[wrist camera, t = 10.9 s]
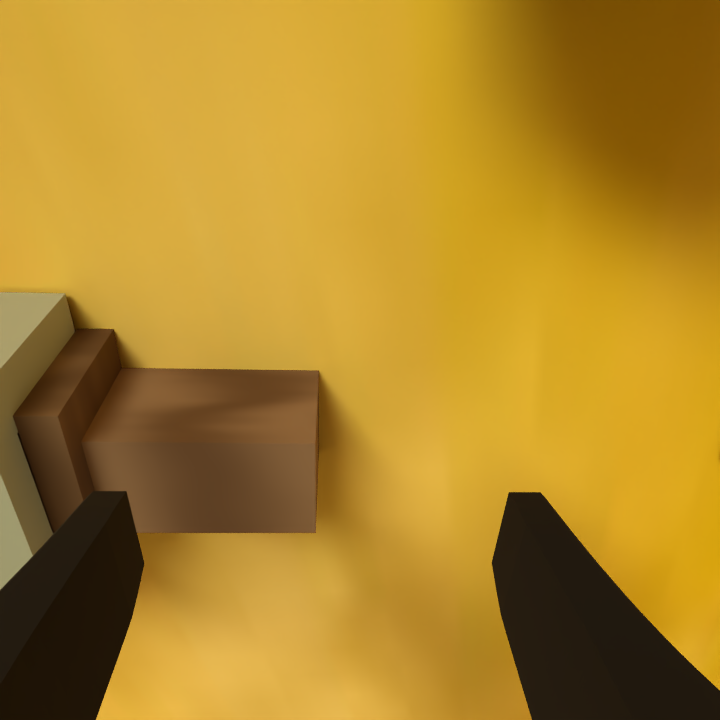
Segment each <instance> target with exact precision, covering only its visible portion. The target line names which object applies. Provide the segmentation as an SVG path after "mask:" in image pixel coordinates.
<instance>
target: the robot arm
mask: <svg viewBox="0 0 720 720" xmlns="http://www.w3.org/2000/svg"><path fill="white" fill-rule="evenodd" d="M492 566H493V572H494V578H495V584H496V590H497V596H498V601H499V606H500V612H501V616H502V620H503V623H504V627H505V630H506V634H507V637H508V641H509V644H510V647H511V651H512V654H513V658H514V661H515V664H516V668H517V671H518V674H519V678H520V681H521V684H522V688H523V691H524V694H525V698H526V701H527V704H528V708H529V711H530V714H531V718H532V720H720V690H718V689H717V688H716V687H715V686H714V685H713V684H712V683H711V682H710V681H709V680H708V679H707V678H706V677H705V676H704V675H702V674H701V673H700V672H699V671H698V670H697V669H696V668H695V667H694V666H693V665H692V664H691V663H690V662H689V661H688V660H687V659H686V658H685V657H684V656H683V655H682V654H681V653H680V652H679V651H678V650H677V649H676V648H675V647H674V646H673V645H672V644H671V643H670V642H669V641H668V640H667V639H666V638H665V637H664V636H663V635H662V634H661V633H660V632H659V631H658V630H657V629H656V628H655V627H654V626H653V625H652V623H651V622H650V621H649V620H648V619H647V618H646V617H645V616H644V615H643V614H642V613H641V612H640V611H639V610H638V608H637V607H636V606H635V605H634V604H633V603H632V602H631V601H630V600H629V599H628V597H627V596H626V595H625V594H624V593H623V592H622V591H621V589H620V588H619V587H618V586H617V585H616V584H615V583H614V581H613V580H612V579H611V578H610V577H609V576H608V574H607V573H606V572H605V571H604V570H603V569H602V568H601V566H600V565H599V564H598V563H597V562H596V560H595V559H594V558H593V557H592V556H591V554H590V553H589V552H588V551H587V550H586V548H585V547H584V546H583V545H582V543H581V542H580V541H579V540H578V538H577V537H576V536H575V535H574V534H573V532H572V531H571V530H570V529H569V527H568V526H567V525H566V523H565V522H564V521H563V520H562V518H561V517H560V516H559V515H558V513H557V512H556V511H555V510H554V508H553V507H552V506H551V504H550V503H549V502H548V501H547V499H546V498H545V497H544V496H543V495H542V494H541V493H540V492H509V494H508V498H507V502H506V506H505V511H504V515H503V519H502V523H501V527H500V531H499V535H498V539H497V543H496V548H495V552H494V556H493V560H492ZM143 567H144V560H143V556H142V552H141V548H140V544H139V540H138V536H137V532H136V528H135V524H134V520H133V516H132V512H131V507H130V503H129V499H128V495H127V491H93V492H92V493H90V494H89V495H88V496H87V497H86V498H85V500H84V501H83V502H82V503H81V504H80V505H79V506H78V507H77V508H76V509H75V511H74V512H73V513H72V514H71V515H70V516H69V517H68V518H67V519H66V520H65V522H64V523H63V524H62V525H61V526H60V527H59V528H58V529H57V530H56V531H55V533H54V534H53V535H52V536H51V537H50V538H49V539H48V540H47V541H46V542H45V543H44V544H43V546H42V547H41V548H40V549H39V550H38V551H37V552H36V553H35V554H34V555H33V556H32V557H31V558H30V559H29V560H28V562H27V563H26V564H25V565H24V566H23V567H22V568H21V569H20V570H19V571H18V572H17V573H16V574H15V575H14V576H13V577H12V578H11V579H10V580H9V581H8V582H7V583H6V584H5V585H4V586H3V588H2V589H1V590H0V720H96V717H97V715H98V712H99V709H100V706H101V703H102V701H103V698H104V695H105V692H106V690H107V687H108V684H109V681H110V678H111V676H112V673H113V670H114V667H115V664H116V662H117V659H118V656H119V653H120V650H121V647H122V645H123V642H124V639H125V636H126V633H127V630H128V627H129V624H130V622H131V619H132V615H133V611H134V607H135V603H136V598H137V594H138V590H139V585H140V581H141V576H142V571H143Z"/></svg>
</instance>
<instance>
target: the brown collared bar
mask: <svg viewBox="0 0 720 720" xmlns="http://www.w3.org/2000/svg"><path fill="white" fill-rule="evenodd" d="M13 418H14V421H15V424H16V427H17V430H18V433H17V435H18V437H19V440H20V443H21V446H22V449H23V451H24V454H25V457H26V460H27V462H28V465H29V468H30V471H31V474H32V476H33V479H34V482H35V485H36V488H37V490H38V493H39V496H40V499H41V502H42V504H43V507H44V510H45V513H46V516H47V518H48V521H49V524H50V527H51V530H52V532H53V533H55V531H56V530H57V529H58V528H59V527H60V526H61V525H62V524H63V523H64V522H65V520H66V519H67V518H68V517H69V516H70V515H71V514H72V513H73V512H74V511H75V509H76V508H77V507H78V506H79V505H80V504H81V503H82V502H83V501H84V500H85V498H86V497H87V496H88V495H89V494H90V493H92V492H93V491H127V495H128V499H129V503H130V507H131V512H132V516H133V520H134V524H135V528H136V532H137V533H316V509H317V483H318V457H319V371H307V370H232V369H156V368H122V367H121V362H120V357H119V353H118V348H117V344H116V339H115V334H114V330H113V329H79V328H77V330H76V331H75V332H74V334H73V335H72V336H71V338H70V339H69V341H68V342H67V343H66V345H65V346H64V347H63V349H62V350H61V351H60V353H59V354H58V355H57V357H56V358H55V359H54V361H53V362H52V363H51V365H50V366H49V367H48V369H47V370H46V371H45V373H44V374H43V376H42V377H41V378H40V380H39V381H38V382H37V384H36V385H35V386H34V388H33V389H32V390H31V392H30V393H29V394H28V396H27V397H26V398H25V400H24V401H23V402H22V404H21V405H20V406H19V408H18V409H17V411H16V412H15V413H14V415H13Z"/></svg>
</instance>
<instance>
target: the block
mask: <svg viewBox="0 0 720 720" xmlns="http://www.w3.org/2000/svg"><path fill="white" fill-rule="evenodd" d="M74 332H75V329H74V325H73V321H72V317H71V314H70V310H69V306H68V302H67V298H66V294H64V293H11V292H0V590H1V589H2V588H3V586H4V585H5V584H6V583H7V582H8V581H9V580H10V579H11V578H12V577H13V576H14V575H15V574H16V573H17V572H18V571H19V570H20V569H21V568H22V567H23V566H24V565H25V564H26V563H27V562H28V560H29V559H30V558H31V557H32V556H33V555H34V554H35V553H36V552H37V551H38V550H39V549H40V548H41V547H42V546H43V544H44V543H45V542H46V541H47V540H48V539H49V538H50V537H51V536H52V535H53V534H54V533H53V532H52V530H51V527H50V524H49V521H48V518H47V516H46V513H45V510H44V507H43V504H42V502H41V499H40V496H39V493H38V490H37V488H36V485H35V482H34V479H33V476H32V474H31V471H30V468H29V465H28V462H27V460H26V457H25V454H24V451H23V449H22V446H21V443H20V440H19V437H18V435H17V433H18V430H17V427H16V424H15V421H14V418H13V415H14V413H15V412H16V411H17V409H18V408H19V406H20V405H21V404H22V402H23V401H24V400H25V398H26V397H27V396H28V394H29V393H30V392H31V390H32V389H33V388H34V386H35V385H36V384H37V382H38V381H39V380H40V378H41V377H42V376H43V374H44V373H45V371H46V370H47V369H48V367H49V366H50V365H51V363H52V362H53V361H54V359H55V358H56V357H57V355H58V354H59V353H60V351H61V350H62V349H63V347H64V346H65V345H66V343H67V342H68V341H69V339H70V338H71V336H72V335H73V334H74Z"/></svg>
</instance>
